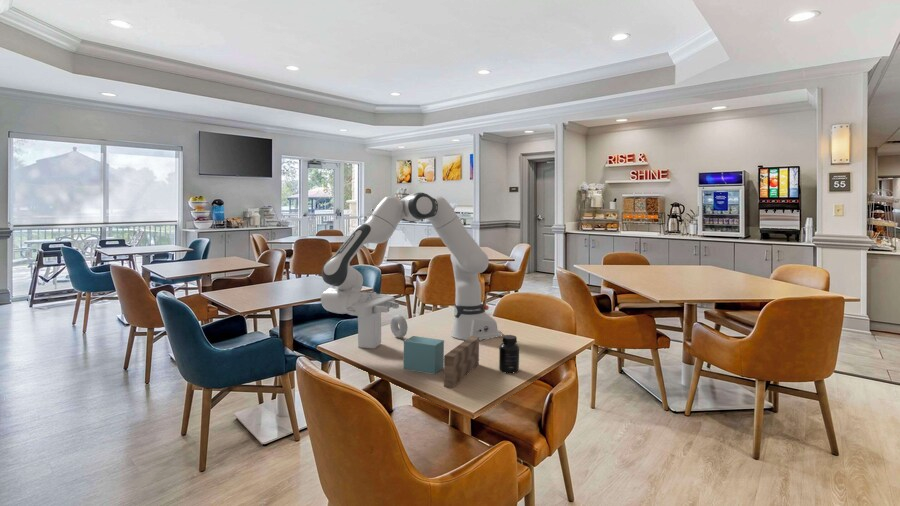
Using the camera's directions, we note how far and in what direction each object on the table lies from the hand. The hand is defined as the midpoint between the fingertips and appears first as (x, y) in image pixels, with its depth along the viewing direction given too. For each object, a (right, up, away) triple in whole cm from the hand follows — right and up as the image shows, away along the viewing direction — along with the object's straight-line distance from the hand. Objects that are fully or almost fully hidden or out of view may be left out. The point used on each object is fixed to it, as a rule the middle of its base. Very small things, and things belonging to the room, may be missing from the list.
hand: (393, 307), depth 166 cm
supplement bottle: (+41, -21, -4) cm, 46 cm away
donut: (-2, -17, +33) cm, 37 cm away
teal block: (+11, -21, -3) cm, 24 cm away
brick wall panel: (+24, -21, -9) cm, 34 cm away
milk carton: (-12, -18, +22) cm, 31 cm away
